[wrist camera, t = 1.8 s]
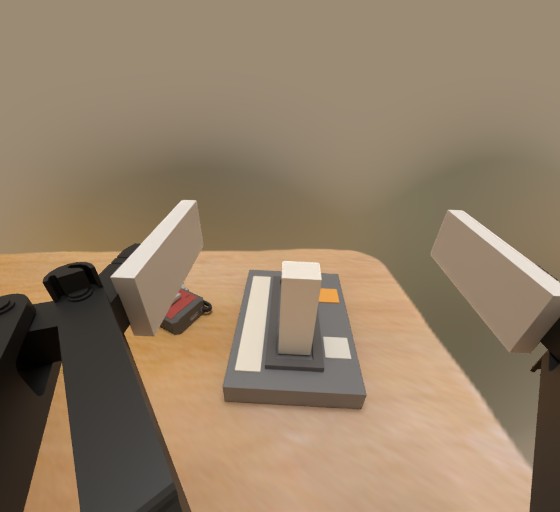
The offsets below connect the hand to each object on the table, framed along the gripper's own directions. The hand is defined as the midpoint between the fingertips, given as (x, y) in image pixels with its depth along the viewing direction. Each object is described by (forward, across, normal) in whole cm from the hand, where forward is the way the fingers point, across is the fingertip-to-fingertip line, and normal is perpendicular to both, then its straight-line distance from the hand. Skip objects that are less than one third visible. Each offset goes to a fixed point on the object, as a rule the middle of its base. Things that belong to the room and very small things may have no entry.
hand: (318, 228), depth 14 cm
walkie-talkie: (+20, -23, -25) cm, 40 cm away
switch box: (+15, 0, -25) cm, 29 cm away
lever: (+10, 0, -22) cm, 24 cm away
